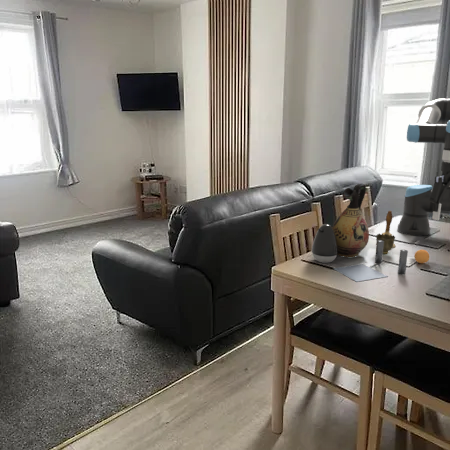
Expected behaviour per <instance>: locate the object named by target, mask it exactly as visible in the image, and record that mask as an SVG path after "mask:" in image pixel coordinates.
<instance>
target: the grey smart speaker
mask: <svg viewBox="0 0 450 450" xmlns="http://www.w3.org/2000/svg"><path fill="white" fill-rule="evenodd" d="M332 227H333V225H330V224H328V223H324V224H322V225H321V226H320V227H319V228H318V229H317V231H316V234H315V236H314V238H313V242H312V245H311V253H312V257H313V258H314V260H315V261H317V262H319V263H321V262H322V264H329V263H331V262H333V261H335V259H336V257H337V256H338V255H337V254H338V245H337V239H336V234H335V231H334V229H333V228H332Z"/></svg>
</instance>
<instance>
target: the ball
mask: <svg viewBox="0 0 450 450" xmlns="http://www.w3.org/2000/svg"><path fill="white" fill-rule="evenodd" d="M414 260H415V261H416V262H417V263H418V264H425V263H426V264H427V262H429V260H430V254H429V252H428V251H427V250H426V249H419V250H416V251H415V252H414Z"/></svg>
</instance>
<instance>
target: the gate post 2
mask: <svg viewBox="0 0 450 450" xmlns="http://www.w3.org/2000/svg"><path fill="white" fill-rule="evenodd" d="M408 253H409V251H408V250H407V249H400V250H399V260H398V266H397V268H398V269H397V274H398V275H400V276H405V274H406V270H407V269H406V268H407V261H408Z"/></svg>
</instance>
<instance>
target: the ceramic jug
mask: <svg viewBox="0 0 450 450" xmlns="http://www.w3.org/2000/svg"><path fill="white" fill-rule="evenodd" d="M366 186H367V185H366V184H364V183H356V184H355V185H354V187H353V189H351V188H350V187H347V188H345V189H344V191H343V192H342V196H343V198H346V200H349V204H348V205H347V206H346V208H345V209H344V210H343V211H342V212H341V213H340V214H339V216H338V217H337V218H336V219H335V221H334V223H333V224H332V228H333V229H334V231H335V234H336V239H337V245H338V254H337V256H338V255H339V256H338V257H343V256H344V257H343V258H348V257H353V258H356V257H355V256H357V257H358V256H359V254H360V253H361V251H363V250H364V249H365V248H366V247H367V245H368V243H369V240H370V239H369V238H370V232H369V225H368V223H367V220H366V219H365V218H364V217H365V216H364V215H363V213H362V209H361V206H362V204H363V201H364V199H365V196H366V190H367V187H366Z"/></svg>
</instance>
